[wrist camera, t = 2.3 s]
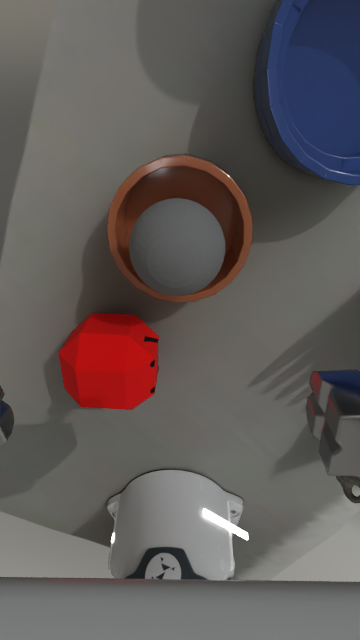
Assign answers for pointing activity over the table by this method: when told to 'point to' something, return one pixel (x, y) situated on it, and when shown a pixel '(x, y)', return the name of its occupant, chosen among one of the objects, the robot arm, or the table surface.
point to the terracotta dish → (187, 183)
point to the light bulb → (177, 247)
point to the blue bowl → (312, 86)
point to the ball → (110, 362)
